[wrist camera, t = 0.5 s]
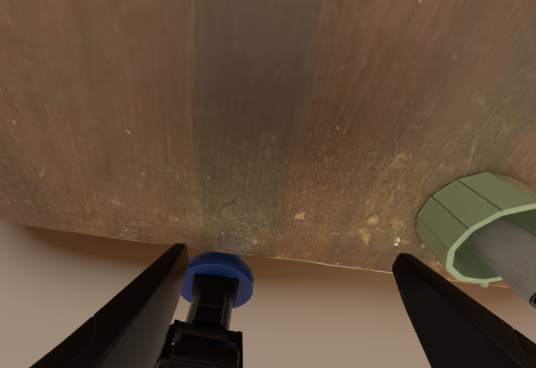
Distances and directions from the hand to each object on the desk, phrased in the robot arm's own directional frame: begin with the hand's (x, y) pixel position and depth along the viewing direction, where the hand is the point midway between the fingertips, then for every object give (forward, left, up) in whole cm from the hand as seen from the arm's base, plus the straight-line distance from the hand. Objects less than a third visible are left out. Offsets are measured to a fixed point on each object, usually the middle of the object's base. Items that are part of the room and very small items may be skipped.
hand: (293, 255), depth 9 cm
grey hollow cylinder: (-4, -24, -15) cm, 28 cm away
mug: (-6, -25, -14) cm, 29 cm away
